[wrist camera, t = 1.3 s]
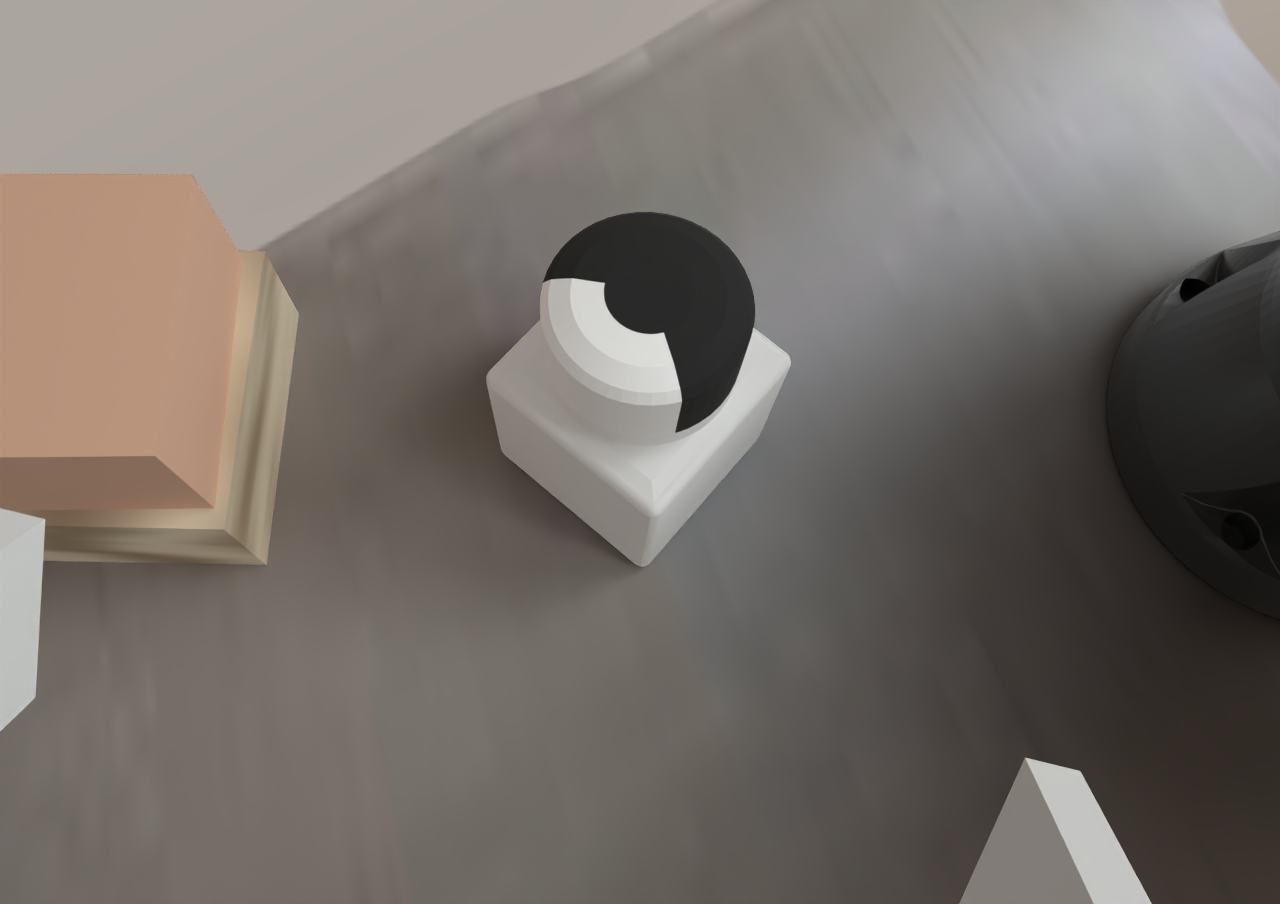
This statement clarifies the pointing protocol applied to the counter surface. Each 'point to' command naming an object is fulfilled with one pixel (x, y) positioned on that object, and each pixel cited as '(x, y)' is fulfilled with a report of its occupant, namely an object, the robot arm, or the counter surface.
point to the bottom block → (244, 462)
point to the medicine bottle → (637, 378)
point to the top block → (112, 341)
